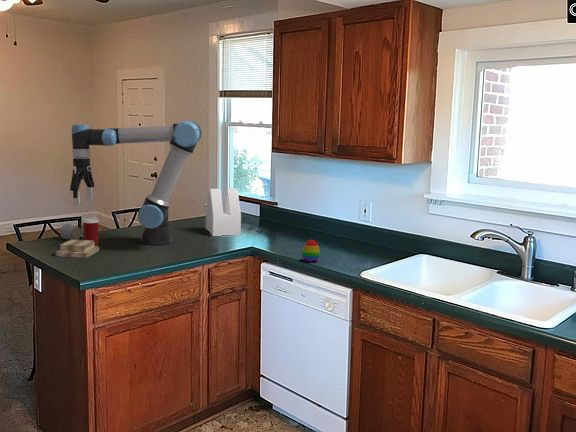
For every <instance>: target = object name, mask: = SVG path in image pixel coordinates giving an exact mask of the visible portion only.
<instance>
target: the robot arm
mask: <svg viewBox="0 0 576 432" xmlns="http://www.w3.org/2000/svg"><path fill="white" fill-rule="evenodd" d="M201 137H202V130H201V127H200V125H198V123H196V122H194V121H192V120H183V121H181V122H177V123H172V124H171V125H161V126H140V127H134V126H133V127H120V128H117V127H116V128H114V127H113V128H112V127H111V128H108V127H107V128H98V129H97V128H95V129H94V128H93V129H92V128H90V126H89V125H88V124H72V126H71V145H72V150H71V152H72V165H73V167H74V168H73V169H72V176H71V181H70V187H69V190H70V191H71V192H72V200H73V203H72V204H73V206H80V205H81V201H80V200H81V199H80V197H81V196H80V191H79V190H80V186H81V183H82V180H83V181H84V183H85V185H86V187H85V192H86V193H85V194H86V195H85V196H86V197H85V198H86V202H89V201H90V202H93V188H95V182H94V179H93V178H94V177H93V173H92V170H91V168H92V167H91V152H90V146H106V147H110V146H115V145H117V144H118V145H120V144H122V145H123V144H141V143H142V144H143V143H144V144H147V143H165V142H169V143H168V145H169V146H170V149H169V150H168V151H169V152H168V154H167V157H166V158H165V161H164V163H163V166H162V167H161V170H160V172H159V175H158V177H157V179H156V182H155V183H154V187H153V189H152V191H151V193H150V194H147V195H146V197H145V198H144V201H143V204H142V206H141V207H140V208H139V210H138V212H137V219H138V222H139V223H140V224H141V225H142V226H143V227H144V228H143V231H142V234H141V238H140V242H141V244H144V245H149V246H162V245H163V246H165V245H168V244H171V243H172V240H173V239H172V238H173V237H172V235H171V232H170V228H169V207H170V202H169V199H170V197H171V195H172V193H173V191H174V188H175V186H176V184H177V181H178V179H179V176H180V175H181V172H182V170H183V167H184V166H185V163H186V160H187V159H188V156H190V155H193V153H194V151H195V149H196V146H197V144H198V142H199V141H200V140H201ZM75 167H76V168H75Z"/></svg>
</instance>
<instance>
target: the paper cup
mask: <svg viewBox="0 0 576 432" xmlns="http://www.w3.org/2000/svg"><path fill="white" fill-rule="evenodd" d="M81 222H82V230H83V231H82V232H83V235H84V236H83V240H90V241H94V243H95V246H98V243H99V223H100V220H99V218H98V217H85V218H83V219H82V221H81Z"/></svg>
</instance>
